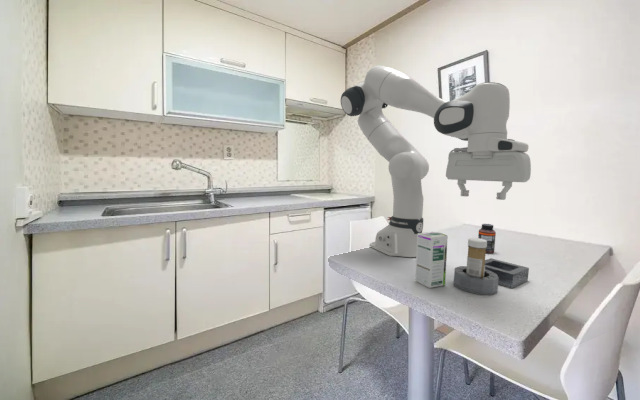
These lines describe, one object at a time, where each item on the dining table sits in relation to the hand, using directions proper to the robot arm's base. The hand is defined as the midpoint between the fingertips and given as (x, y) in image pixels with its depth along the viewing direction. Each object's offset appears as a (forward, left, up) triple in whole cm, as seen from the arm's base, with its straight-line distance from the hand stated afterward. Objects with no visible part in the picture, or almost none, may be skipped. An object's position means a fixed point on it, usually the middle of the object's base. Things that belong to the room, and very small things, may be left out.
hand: (481, 197), depth 74 cm
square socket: (+1, +13, -25) cm, 28 cm away
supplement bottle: (-16, +40, -25) cm, 50 cm away
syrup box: (-8, -9, -25) cm, 28 cm away
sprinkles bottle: (0, 0, -25) cm, 25 cm away
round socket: (0, 0, -25) cm, 25 cm away
